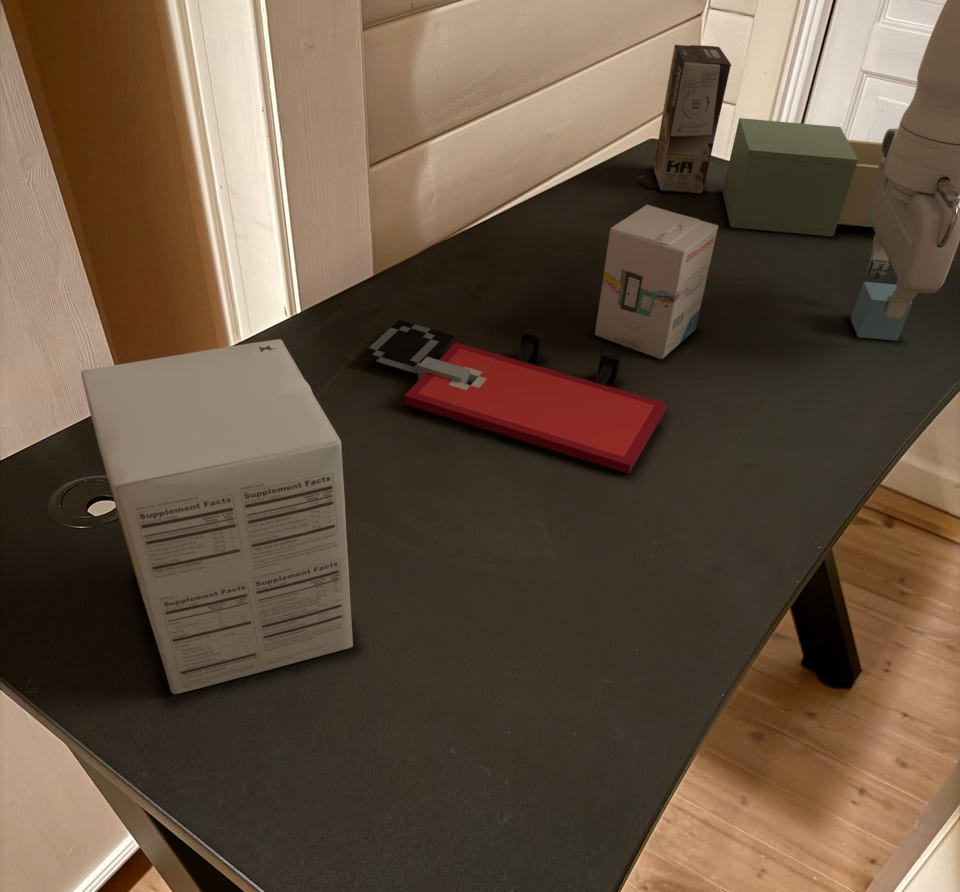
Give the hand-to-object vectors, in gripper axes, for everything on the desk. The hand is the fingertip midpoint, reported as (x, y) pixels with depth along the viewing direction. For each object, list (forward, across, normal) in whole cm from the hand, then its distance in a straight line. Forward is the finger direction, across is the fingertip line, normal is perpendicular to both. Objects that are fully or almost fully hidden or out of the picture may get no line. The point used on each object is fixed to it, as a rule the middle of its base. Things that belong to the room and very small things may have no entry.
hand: (883, 295), depth 103 cm
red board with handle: (+4, -21, +40) cm, 45 cm away
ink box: (+4, -6, +26) cm, 27 cm away
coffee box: (+4, +41, +20) cm, 46 cm away
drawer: (+3, +32, -6) cm, 33 cm away
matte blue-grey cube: (+4, 0, 0) cm, 4 cm away
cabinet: (+4, +32, +7) cm, 33 cm away
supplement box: (+5, -55, +56) cm, 79 cm away
